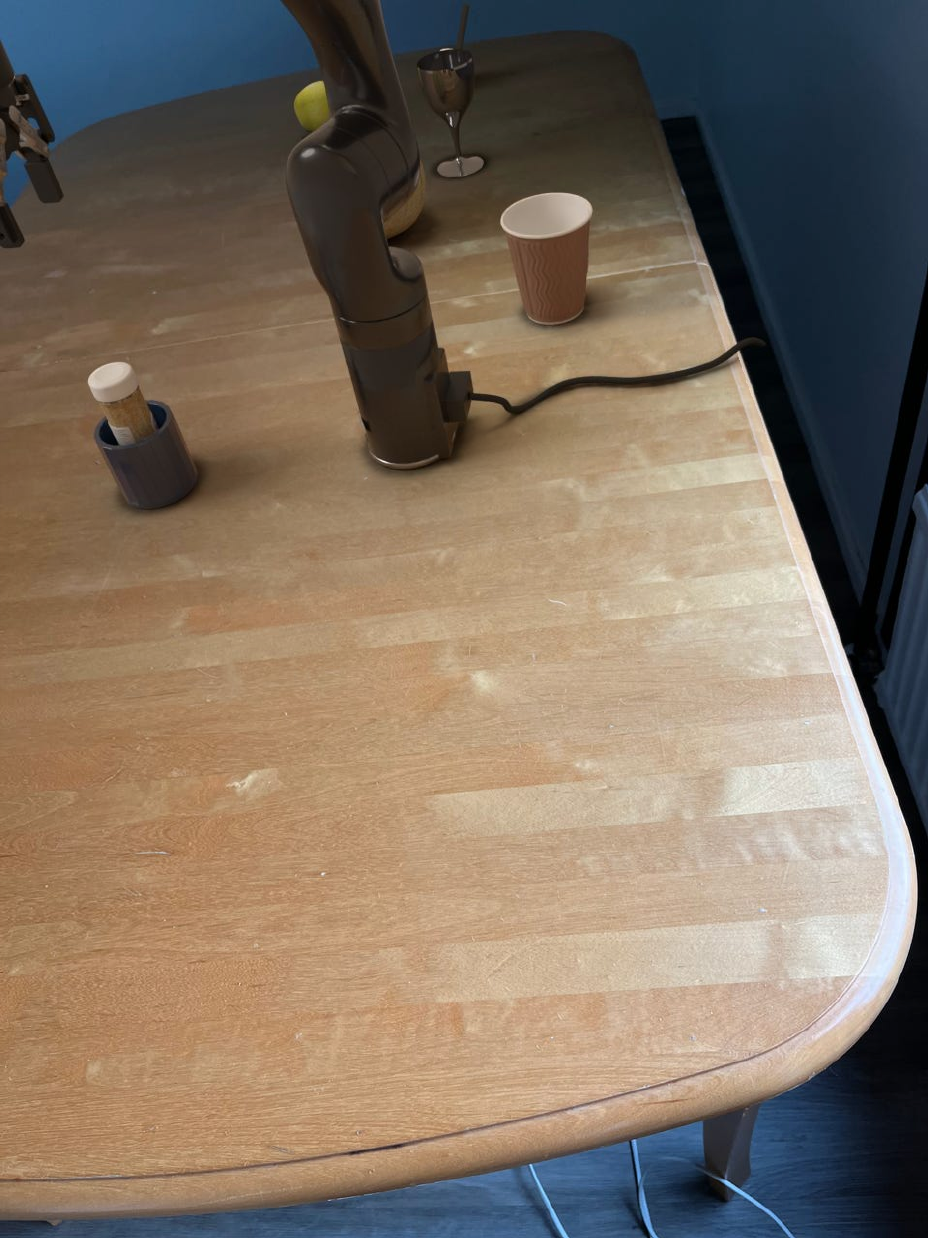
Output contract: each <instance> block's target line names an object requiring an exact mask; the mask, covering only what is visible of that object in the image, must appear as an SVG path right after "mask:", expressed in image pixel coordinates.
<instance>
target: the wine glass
mask: <svg viewBox="0 0 928 1238" xmlns="http://www.w3.org/2000/svg"><path fill="white" fill-rule="evenodd" d="M441 50H442V49H441ZM416 71H417V76H418V80H419V86H420V89H421V92H422V95H423V97H424V99H425V102H426V104H427V106H428V107H429V109H431V111H432V112H433V113H434V114H435V115H437V116H438V117H439V118H440V119H441V120H443V122H444V123H445V124H446V125H447V127H448V128H449V130H450V133H451V137H452V141H453V144H454V150H455V157H451V158H448V159H446V160H444V161H442V162H441V163H440V164H439V165H438V166H437V169H436V171H437V173H438V174H439V175H440V176H442V177H446V178H461V177H466V176H470V175H472V174H474V173H477V172H478V171H479V170H481V169H482V168H483V166H485V165H484V164H485V161H484V160H483V159H482V158H481V157H479V156H477V155H470V154H469V155H462V151H461V141H460V128H461V127H460V126H461V123H462V120H463V117H464V116H465V114H466V112H467V111H468V109H469V107H470V106H471V104H472V101H473V100H474V94H475V66H474V58H473V54H472V52H471V51H470V50H468V49H463V48H462V49H456V48H449V50H442V51H440V50H438V51H434V52H431V53H429V54H426V55H425V56H422V57H421V58H420V59H419V60H418V61H417V62H416Z"/></svg>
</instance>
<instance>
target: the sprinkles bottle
mask: <svg viewBox="0 0 928 1238" xmlns="http://www.w3.org/2000/svg"><path fill="white" fill-rule="evenodd" d="M139 382H140V381H139V379H138V377H137V373H135V370H134V368H133V367H132V365H131V364H129V363H127V362H123V361H113V362H110V363H106V364H104V365H101V366H99V367H97V368H96V369H95V370H94V371H92V373H90V375H89V376H88V379H87V385H88V387H89V389H90V391H91V394H92V395H93V397H94V399H95V400H96V401H97V402H98V403H99V406H100V407H101V409H102V411H103V413H104V415H105V416H106V418H107V419H108V423H109V425H110V427H111V429H112V431H113V433H114V435H115V437H116V439H117V441H118V443H119V445H120V446H125V445H130V444H134V443H138V442H140V441H142V440H145V439H147V438H149V437H150V436H152V435H153V434H155V433H156V432H157V431H158V430H159V428H158V426H157V424H156V422H155V420H154V418H153V415H152V413H151V411H150V410H149V408H148V405H147V403H146V401H145V400H146V399H145V397H144V395H143V393H142V389H141V388H140V383H139ZM105 416H104V417H105Z"/></svg>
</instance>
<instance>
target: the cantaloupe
mask: <svg viewBox="0 0 928 1238" xmlns="http://www.w3.org/2000/svg"><path fill="white" fill-rule="evenodd" d="M426 182H427V181H426V174H425V170H424V165H423V163H422V160H421V159H420V178H419V183H418V186H417V188H416V190H415V192H414V194H413V195H412V197H411V198H410V199H409V201H408V202H407V203H406V204H405V205H404V206H403V207H402V208H401V209H399V210H398V211H397V212H396V213H395V214H394V215H393V216H392V217H390V218H389V219H388V220H387V221H386V222H385V223H384V224H383V227H384V232H385V236H386V239H387V240H389V239H391V238H394V237H396V236H398V235H400V234H402V233H404V232H405V231H406V230H408V229H409V228H410V227H411V226H412V225H413V224H414V223H415V222H416V220H417V219H418V217H419V216H420V214H421V211H422V209H423V206H424V204H425V200H426V199H425V198H426V190H427V189H426V188H427V183H426Z"/></svg>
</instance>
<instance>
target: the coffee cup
mask: <svg viewBox="0 0 928 1238" xmlns="http://www.w3.org/2000/svg"><path fill="white" fill-rule="evenodd" d="M592 215H593V206H592V204H591V203H590V201H589V200H588V199H586V198H585V197H582V196H581V195H578V194H573V193H569V192H547V193H540V194H535V195H531V196H529V197H525V198H522V199H520V200H517V201H516V202H514V203H513V204H511V205H509V206H508V207H507V208H506V209H504V211H503V212H502V214H501V217H500V221H499V223H500V225H501V227H502V230H504V234H505V237H506V242H507V246H508V249H509V255H510V258H511V262H512V266H513V270H514V274H515V278H516V281H517V282H516V283H517V285H518V290H519V294H520V298H521V302H522V306H523V309H524V311H525V313H526V316H527V317H528V318H529V320H531V321H532V322H534V323H536V324H540V325H544V326H554V325H555V326H556V325H562V324H565V323H569V322H571V321H574V320H575V319H576V318H578V317H579V316H580V315H581V313H583V311H584V309H585V307H584V306H585V301H586V295H587V279H588V278H587V277H588V271H589V258H590V257H589V256H590V255H589V254H590V253H589V246H590V245H589V242H590V226H591V225H590V224H591V217H592Z"/></svg>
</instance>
